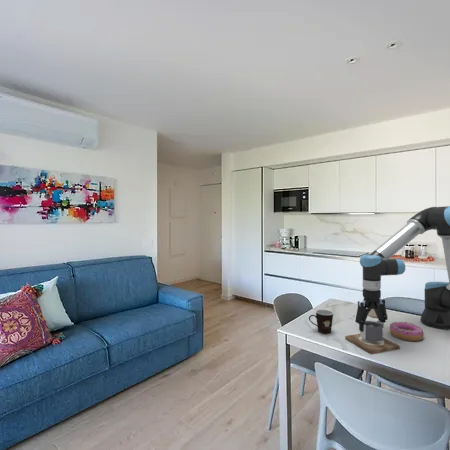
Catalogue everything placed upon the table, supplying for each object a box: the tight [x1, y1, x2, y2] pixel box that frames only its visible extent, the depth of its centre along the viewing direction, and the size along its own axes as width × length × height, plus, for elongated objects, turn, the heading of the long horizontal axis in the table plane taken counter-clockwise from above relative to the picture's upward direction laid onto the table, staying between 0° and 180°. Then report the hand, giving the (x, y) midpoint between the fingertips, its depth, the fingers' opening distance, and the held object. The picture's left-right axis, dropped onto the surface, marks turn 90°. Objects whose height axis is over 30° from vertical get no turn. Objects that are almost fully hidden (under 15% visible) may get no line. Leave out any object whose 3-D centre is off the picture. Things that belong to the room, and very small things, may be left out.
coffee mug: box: [308, 309, 334, 335], centre depth 148 cm, size 12×9×10 cm
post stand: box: [344, 325, 401, 355], centre depth 133 cm, size 16×16×9 cm
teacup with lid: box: [366, 308, 378, 319], centre depth 171 cm, size 12×9×12 cm
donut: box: [389, 321, 424, 342], centre depth 141 cm, size 14×14×5 cm
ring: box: [365, 320, 384, 342], centre depth 133 cm, size 9×9×6 cm
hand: (371, 336), depth 133 cm, fingers closed on ring, 9 cm apart
